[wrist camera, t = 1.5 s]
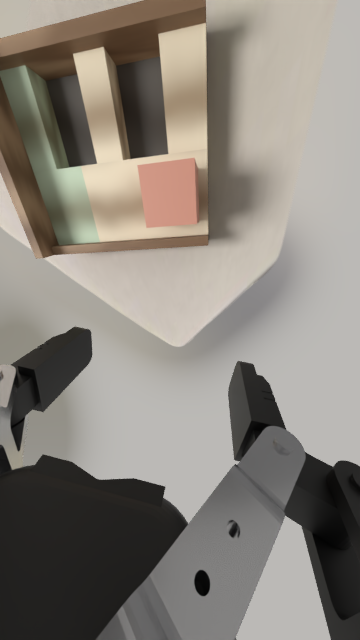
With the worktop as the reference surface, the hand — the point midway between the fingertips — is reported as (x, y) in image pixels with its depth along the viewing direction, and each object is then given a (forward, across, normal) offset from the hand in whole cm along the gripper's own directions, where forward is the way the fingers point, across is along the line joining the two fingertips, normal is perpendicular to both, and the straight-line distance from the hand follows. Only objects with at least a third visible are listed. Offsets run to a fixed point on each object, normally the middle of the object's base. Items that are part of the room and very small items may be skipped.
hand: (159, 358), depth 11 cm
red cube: (+17, +3, -9) cm, 20 cm away
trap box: (+20, +11, -12) cm, 25 cm away
